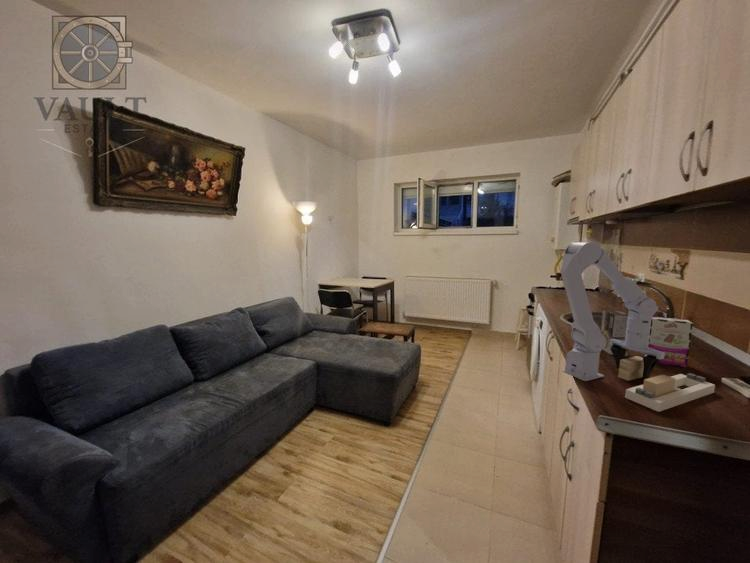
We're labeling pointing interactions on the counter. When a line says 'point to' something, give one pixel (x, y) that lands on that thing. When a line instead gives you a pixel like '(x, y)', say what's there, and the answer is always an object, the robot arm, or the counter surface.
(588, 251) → the robot arm
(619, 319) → the coffee box
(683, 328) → the candy bar box
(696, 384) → the white block holder
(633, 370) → the beige rectangular block
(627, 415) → the counter surface
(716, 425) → the counter surface
